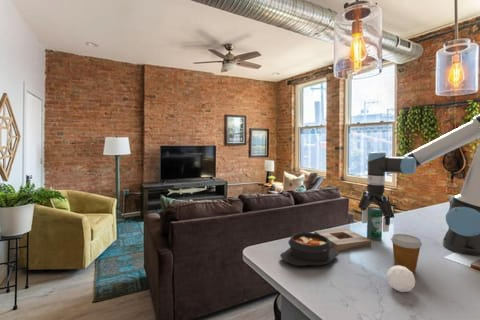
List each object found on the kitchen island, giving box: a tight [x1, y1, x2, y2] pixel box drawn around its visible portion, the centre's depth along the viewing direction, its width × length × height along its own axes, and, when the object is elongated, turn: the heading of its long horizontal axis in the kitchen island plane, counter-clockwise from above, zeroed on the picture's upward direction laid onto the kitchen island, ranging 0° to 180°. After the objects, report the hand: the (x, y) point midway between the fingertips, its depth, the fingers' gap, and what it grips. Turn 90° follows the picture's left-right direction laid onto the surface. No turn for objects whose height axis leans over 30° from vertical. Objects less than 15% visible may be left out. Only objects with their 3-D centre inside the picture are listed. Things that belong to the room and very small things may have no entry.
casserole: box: [279, 232, 339, 267], centre depth 105 cm, size 25×19×8 cm
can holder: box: [313, 227, 372, 252], centre depth 123 cm, size 18×18×3 cm
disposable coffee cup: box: [390, 233, 423, 274], centre depth 96 cm, size 10×10×12 cm
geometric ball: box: [386, 265, 416, 293], centre depth 83 cm, size 8×8×8 cm
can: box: [366, 206, 383, 242], centre depth 127 cm, size 6×6×15 cm
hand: (374, 227), depth 127 cm, fingers open, 13 cm apart
